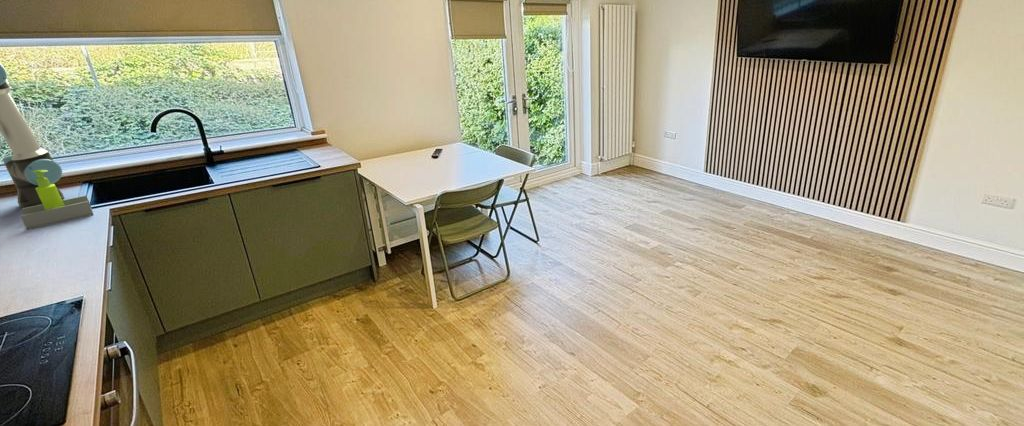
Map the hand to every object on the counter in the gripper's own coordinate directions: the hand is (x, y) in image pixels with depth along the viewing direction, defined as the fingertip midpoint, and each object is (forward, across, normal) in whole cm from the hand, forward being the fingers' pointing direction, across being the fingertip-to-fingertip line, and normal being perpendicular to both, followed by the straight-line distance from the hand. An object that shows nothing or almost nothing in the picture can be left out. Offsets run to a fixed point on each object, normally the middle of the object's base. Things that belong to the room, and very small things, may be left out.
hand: (0, 144), depth 179 cm
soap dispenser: (+8, +10, -31) cm, 33 cm away
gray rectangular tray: (+8, +10, -32) cm, 34 cm away
